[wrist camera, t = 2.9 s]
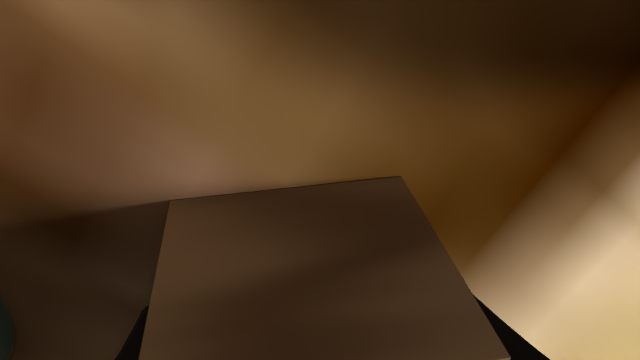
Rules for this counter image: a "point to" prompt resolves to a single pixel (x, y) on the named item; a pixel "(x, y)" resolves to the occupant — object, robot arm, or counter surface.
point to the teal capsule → (6, 333)
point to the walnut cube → (311, 280)
